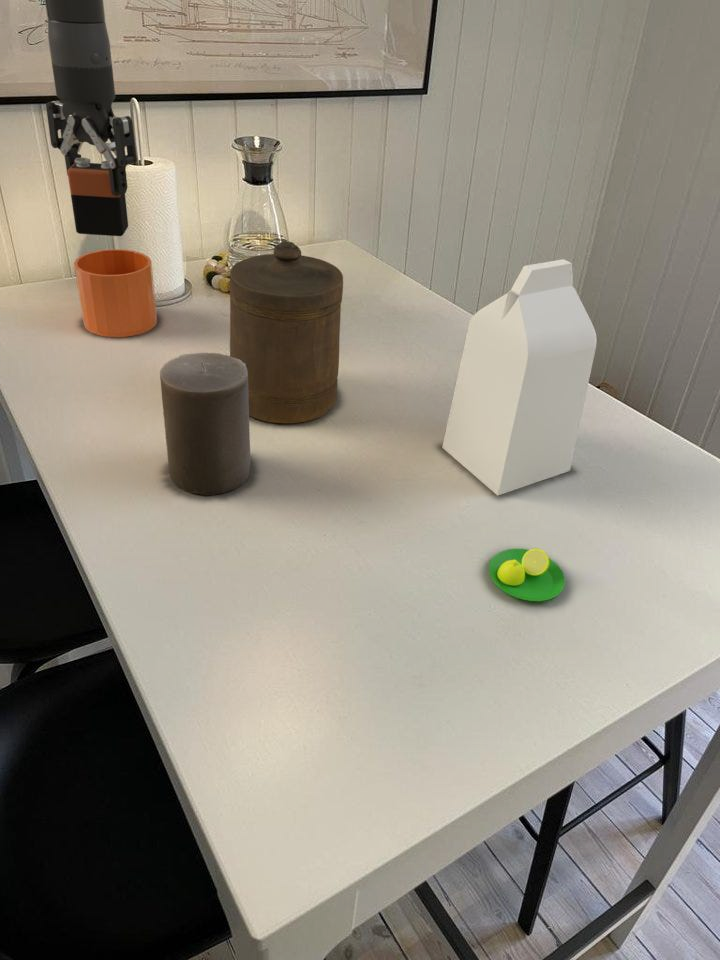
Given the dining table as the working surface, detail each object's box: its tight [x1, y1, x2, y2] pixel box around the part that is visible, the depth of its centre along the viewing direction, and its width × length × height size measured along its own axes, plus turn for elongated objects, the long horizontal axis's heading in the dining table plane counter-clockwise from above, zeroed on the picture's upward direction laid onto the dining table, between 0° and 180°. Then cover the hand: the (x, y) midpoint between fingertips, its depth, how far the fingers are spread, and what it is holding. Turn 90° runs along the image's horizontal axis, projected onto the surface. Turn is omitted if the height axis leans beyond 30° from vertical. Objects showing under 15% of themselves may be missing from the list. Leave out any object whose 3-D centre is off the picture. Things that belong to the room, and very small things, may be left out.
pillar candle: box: [159, 352, 251, 496], centre depth 87 cm, size 10×10×15 cm
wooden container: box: [229, 241, 344, 424], centre depth 100 cm, size 15×15×22 cm
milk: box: [441, 258, 598, 496], centre depth 90 cm, size 12×12×26 cm
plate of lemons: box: [488, 547, 566, 602], centre depth 79 cm, size 8×8×3 cm
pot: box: [73, 248, 158, 338], centre depth 120 cm, size 11×11×10 cm
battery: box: [67, 157, 129, 237], centre depth 109 cm, size 4×7×10 cm, turn 92°
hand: (97, 188), depth 108 cm, fingers closed on battery, 8 cm apart
